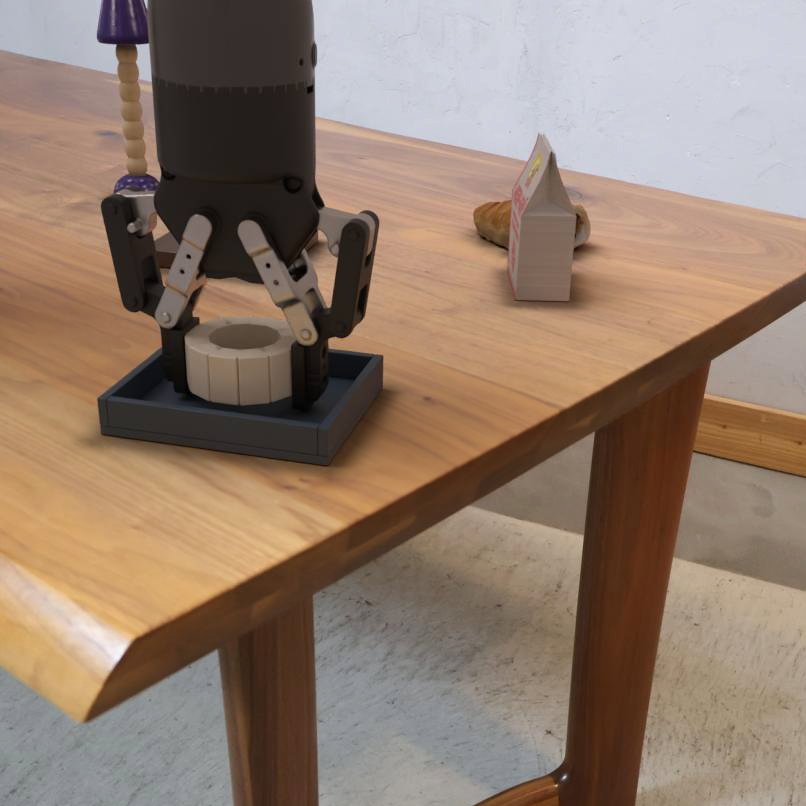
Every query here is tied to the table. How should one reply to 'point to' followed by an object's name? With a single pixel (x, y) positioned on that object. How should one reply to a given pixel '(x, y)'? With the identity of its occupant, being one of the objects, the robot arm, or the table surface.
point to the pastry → (496, 223)
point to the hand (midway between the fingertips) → (247, 395)
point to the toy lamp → (128, 82)
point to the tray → (244, 412)
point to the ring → (240, 360)
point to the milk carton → (541, 230)
